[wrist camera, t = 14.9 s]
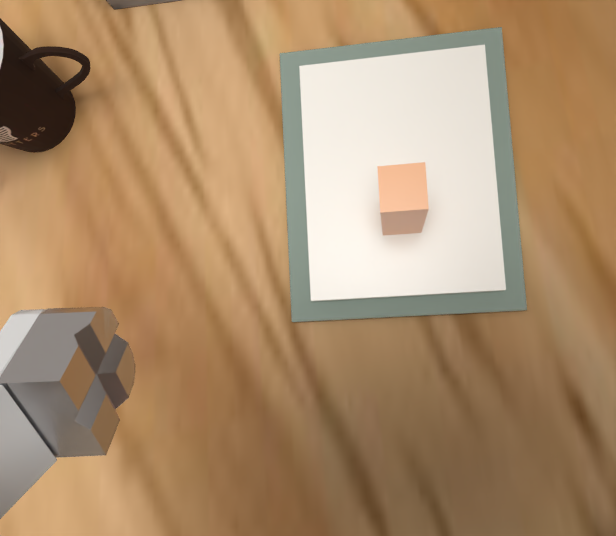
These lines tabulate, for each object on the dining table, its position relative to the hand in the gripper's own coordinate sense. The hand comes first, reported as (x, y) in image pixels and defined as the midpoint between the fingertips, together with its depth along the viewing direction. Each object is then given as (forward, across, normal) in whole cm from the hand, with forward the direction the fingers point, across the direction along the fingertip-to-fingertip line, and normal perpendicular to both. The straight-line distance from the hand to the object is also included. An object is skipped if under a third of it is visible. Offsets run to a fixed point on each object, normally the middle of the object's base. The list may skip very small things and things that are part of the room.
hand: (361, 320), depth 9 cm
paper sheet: (+29, -2, +14) cm, 33 cm away
